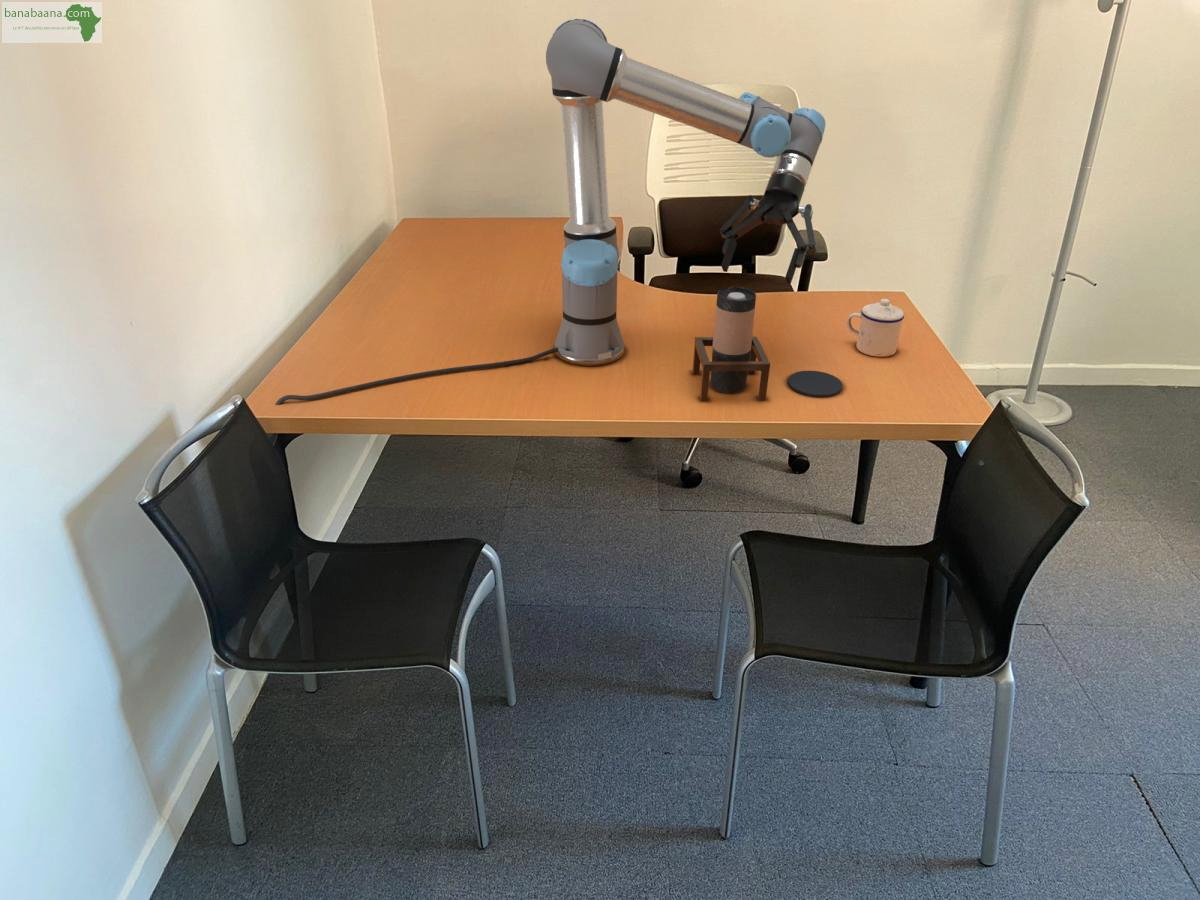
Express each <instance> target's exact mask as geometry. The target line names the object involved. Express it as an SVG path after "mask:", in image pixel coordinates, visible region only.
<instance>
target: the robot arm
mask: <svg viewBox="0 0 1200 900" xmlns="http://www.w3.org/2000/svg"><path fill="white" fill-rule="evenodd" d="M545 64H546V68H547V70H548V73H549V75H550V78H551V80H550V81H551V89H552V90H551V91H552V97H553V98H555V100H556V101H557V102H559V104H560V111H561V123H562V135H563V136H562V138H563V148H564V149H563V150H564V161H565V177H566V188H567V189H566V190H567V199H568V200H567V201H568V203H567V204H568V214H569V215H568V217H569V219H568V220H567V221H566V222H565V224H564V225H563V238H564V249H563V251H562V255H561V261H560V267H561V285H562V286H561V289H562V293H561V294H562V296H561V297H562V319H561V323H560V325H559V329H558V331H557V335H556V337H555V341H554V348H550V349H548V350H545V351H542V352H539V353H537V354H534V355H531V356H527V357H524V358H518V359H512V360H504V361H497V362H490V363H481V364H471V365H462V366H455V367H448V368H441V369H434V370H428V371H422V372H415V373H410V374H404V375H399V376H394V377H389V378H383V379H379V380H374V381H370V382H365V383H361V384H357V385H356V384H355V385H351V386H348V387H343V388H338V389H334V390H329V391H325V392H320V393H315V394H309V395H299V394H286V395H283V396H282V397H279V399H278V400H277V401H276V402H275V404H274V405H275V406H280V405H282V404H283V403H284V402H286V401H289V400H290V401H291V400H293V401H312V400H317V399H321V398H322V399H323V398H327V397H333V396H336V395H340V394H345V393H349V392H354V391H358V390H362V389H367V388H372V387H376V386H380V385H386V384H390V383H395V382H400V381H406V380H411V379H418V378H422V377H428V376H435V375H441V374H448V373H449V374H450V373H455V372H464V371H472V370H482V369H489V368H490V369H491V368H499V367H505V366H513V365H519V364H524V363H528V362H532V361H537V360H539V359H541V358H544V357H546V356H549V355H552V354H555V355H556V356H557V358H558V359H560V360H561V361H563V362H566V363H568V364H572V365H575V366H584V367H585V366H586V367H593V366H594V367H595V366H603V365H608V364H611V363H614V362H616V361H618V360H619V359H621V358H622V357H623V355H624V353H625V343H624V338H623V335H622V332H621V329H620V326H619V323H618V319H617V310H618V309H617V308H618V307H617V305H618V301H617V300H618V270H619V256H620V255H619V254H620V253H619V245H618V236H617V224H616V221H615V220H613V218H611V217H610V216H609V196H608V195H609V194H608V179H607V177H608V176H607V160H606V159H607V158H606V140H605V123H604V122H605V121H604V102H606V103H608V102H611V101H613V100H617V101H619V102H622V103H625V104H627V105H630V106H633V107H636V108H639V109H641V110H645V111H647V112H650V113H653V114H654V115H655V114H656V115H658V116H661V117H664V118H667V119H669V120H673V121H675V122H678V123H680V124H684V125H686V126H689V127H691V128H695V129H697V130H700V131H703V132H706V133H708V134H711V135H714V136H716V137H720V138H722V139H725V140H727V141H731V142H733V143H735V144H738V145H741V146H743V147H746V148H748V149H751V150H753V151H754V152H755V153H756V154H757V155H759V156H761V157H764V158H775V157H776V159H775V162H774V165H773V168H772V171H771V173H770V177H769V178H768V182H767V184H766V187H765V191H764V192H763V196H762V198H760V199H756V198H754V197H753V195H751V194H750V195H747V196H746V199H745V201H744V203H743V204H742V205H741V207H739V209H737V210H736V211H735V213H734V214H732V215H731V216H730V218H729V219H728V220H727V221H725V223H724V224H723V225H722V226H721V227H720V228H719V233H720V235H721V237H722V238H723V239H725V240H724V243H723V245H722V247H721V250H722V254H723V258H722V261H721V264H720V267H721V269H722V271H723V272H725V273H728V270H729V268H730V265H731V263H732V259H733V256H734V254H735V250H736V248H737V245H738V243H737V240H738V239H740V238H741V237H743V236H745V234H747V233H749V232H750V231H751V230H753V229H755V228H756V227H758V226H761V225H763V224H764V223H766V224H769V225H777V226H784V225H786V227H787V228H788V230H789V233H790V234H791V235H792V238H793V239H794V242H795V244H796V246H797V247H795V248H794V250H793V253H792V256H791V259H790V262H789V264H788V268H787V271H786V273H785V275H784V276H785V281H786V284H788V285H791V284H792V281H793V279H794V275H795V273H796V269H801V268H802V267H803V264H804V261H805V258H806V256H807V255H808V254H810V253H811V254H816V253H817V252H818V249H817V243H816V238H815V233H814V232H815V231H814V227H813V221H812V219H813V213H814V211H813V206H812V204H810V203H807V204H806V205H805V206H803V205H800V204H801V200H802V198H803V195H804V192H805V189H806V188H805V187H806V186H807V183H808V180H809V178H810V174H811V172H812V168H813V165H814V162H815V159H816V157H817V154H818V151H819V148H820V146H821V144H822V141H823V137H824V133H825V128H826V119H825V117H824V116H823V115H822V113H821V112H820V111H817V110H816V109H815V108H814V109H813V108H811V109H809V108H808V107H800V108H797V109H795V110H794V111H793V112H790V111H789V112H788V111H786V110H785V109H783V108H781V107H779V106H777V105H775V104H774V103H771V102H769V100H766V99H764V98H762V97H761V96H759V95H755V94H753V93H751V92H748V91H746V92H745V91H744V92H743V93H742V94H741V95H740V96H739V98H736V97H734V96H732V95H729V94H726V93H723V92H721V91H718V90H716V89H714V88H710V87H707V86H705V85H703V84H700V83H697V82H694V81H691V80H689V79H686V78H683V77H681V76H678V75H675V74H673V73H670V72H667V71H665V70H663V69H660V68H657V67H654V66H651V65H649V64H646V63H644V62H641V61H638V60H635V59H632V58H630V57H628V55H627V53H626V51H625V49H623V48H620V47H618V46H615V45H613V44H611V43H609V42H608V38H607V36H606V34H605V33H604V31H603V30H602V28H601V27H599V26H598V25H597V24H596V23H594V22H593V21H591V20H588V19H585V18H574V19H568V20H566V21H564V22H563V23H561V24H560V25H558V27H556V29H555V30H554V32H553V33H552V36H551V38H550V39H549V42H547V46H546V50H545ZM756 208H759V209H758V210H756V211H754V210H755V209H756ZM752 211H754V212H753V214H752V215H751V216H749V215H750V214H751V212H752ZM798 214H800V215H801V218H803V219H804V224H805V229H806V235H807V240H808V243H805V241H804V239H803V237H802V235H801V232H800V231H799V229H798V227H797V225H796V223H795V222H794V218H795V217H796V216H797V215H798ZM748 216H749V217H748ZM746 218H747V219H746Z"/></svg>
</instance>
